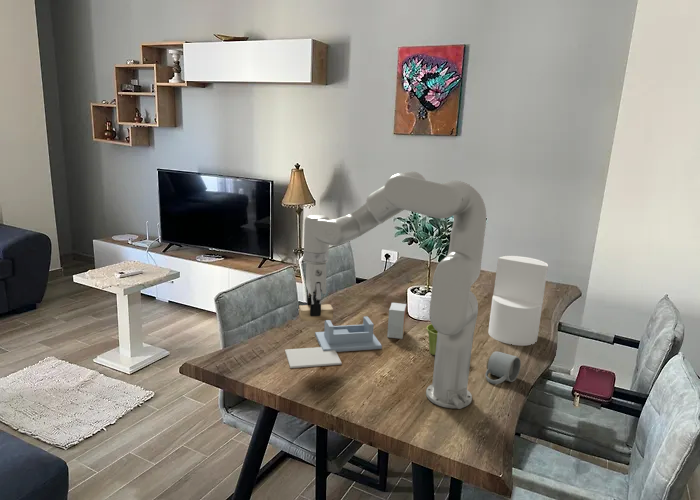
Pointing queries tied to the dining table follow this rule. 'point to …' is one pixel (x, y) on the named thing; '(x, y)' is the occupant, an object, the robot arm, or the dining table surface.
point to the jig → (348, 337)
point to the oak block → (305, 316)
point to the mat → (311, 357)
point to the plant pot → (432, 338)
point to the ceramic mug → (502, 367)
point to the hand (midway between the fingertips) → (313, 312)
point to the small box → (396, 320)
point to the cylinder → (517, 300)
